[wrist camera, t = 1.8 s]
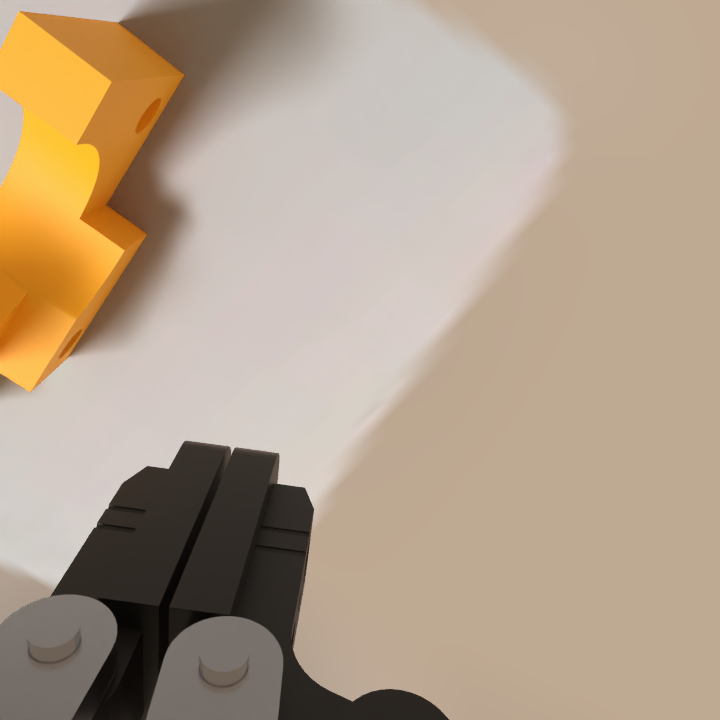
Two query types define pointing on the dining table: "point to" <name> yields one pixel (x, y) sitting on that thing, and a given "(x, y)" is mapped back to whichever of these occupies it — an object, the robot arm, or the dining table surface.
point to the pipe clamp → (69, 179)
